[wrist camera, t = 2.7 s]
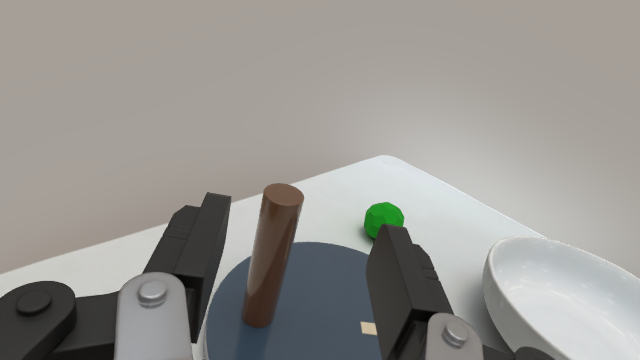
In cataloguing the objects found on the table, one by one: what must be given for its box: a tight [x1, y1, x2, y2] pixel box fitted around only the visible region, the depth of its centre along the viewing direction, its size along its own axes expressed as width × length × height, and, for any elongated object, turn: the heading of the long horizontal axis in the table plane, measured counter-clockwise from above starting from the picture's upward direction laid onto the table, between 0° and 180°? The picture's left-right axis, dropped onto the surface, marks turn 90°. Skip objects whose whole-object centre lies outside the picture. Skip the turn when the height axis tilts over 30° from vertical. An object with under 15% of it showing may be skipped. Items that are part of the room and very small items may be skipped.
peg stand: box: [204, 183, 382, 360], centre depth 30 cm, size 22×22×14 cm
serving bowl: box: [483, 236, 640, 360], centre depth 37 cm, size 21×21×7 cm
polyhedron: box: [364, 202, 404, 239], centre depth 47 cm, size 5×5×5 cm
